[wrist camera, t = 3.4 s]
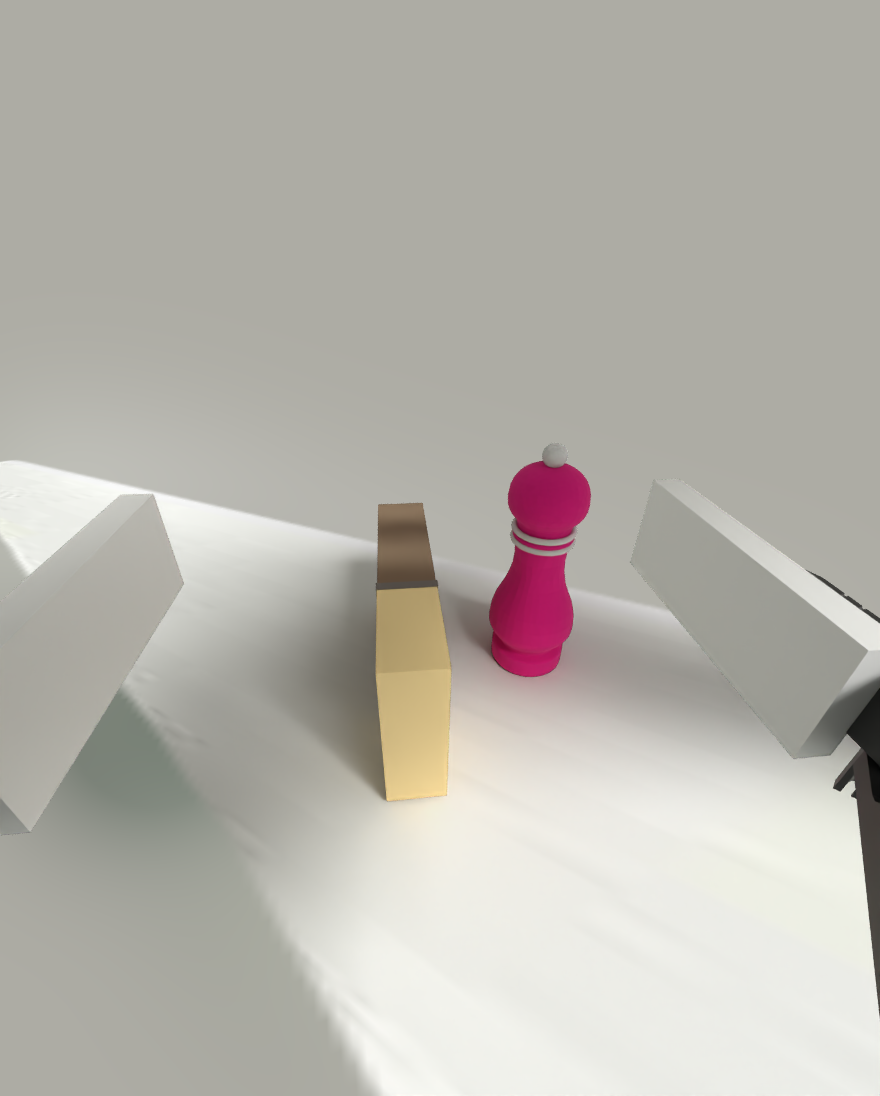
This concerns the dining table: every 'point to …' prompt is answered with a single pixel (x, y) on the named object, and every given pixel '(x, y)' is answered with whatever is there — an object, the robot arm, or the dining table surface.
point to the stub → (412, 689)
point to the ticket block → (403, 544)
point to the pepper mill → (538, 565)
